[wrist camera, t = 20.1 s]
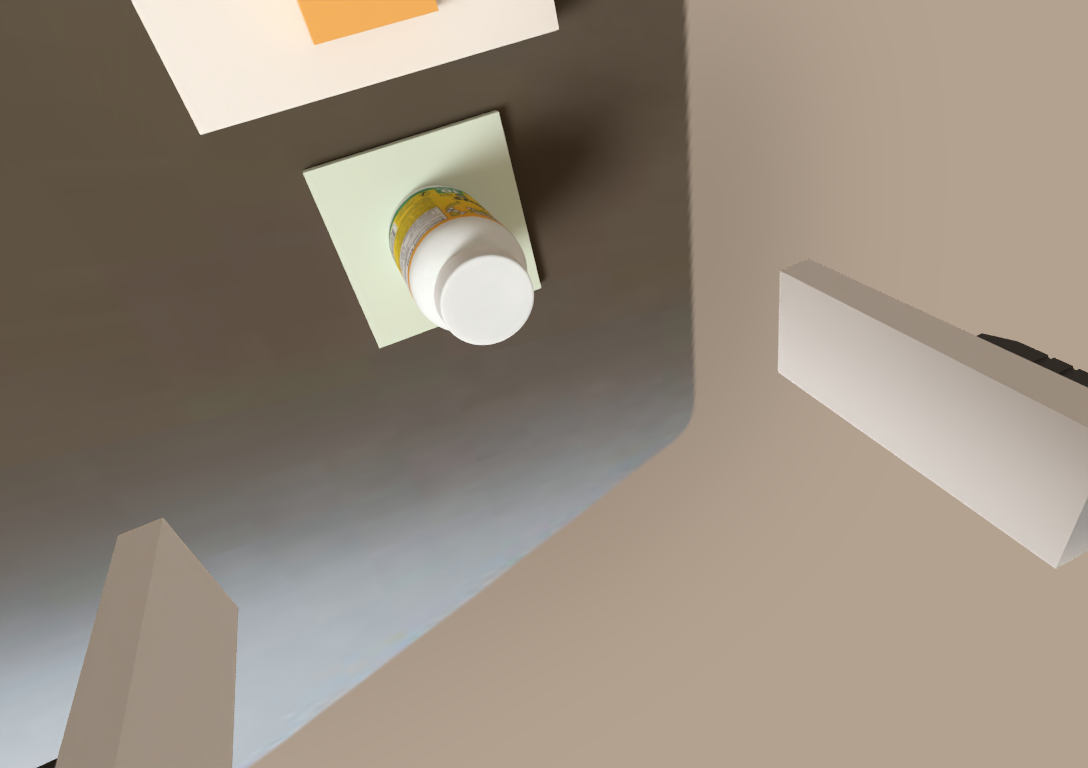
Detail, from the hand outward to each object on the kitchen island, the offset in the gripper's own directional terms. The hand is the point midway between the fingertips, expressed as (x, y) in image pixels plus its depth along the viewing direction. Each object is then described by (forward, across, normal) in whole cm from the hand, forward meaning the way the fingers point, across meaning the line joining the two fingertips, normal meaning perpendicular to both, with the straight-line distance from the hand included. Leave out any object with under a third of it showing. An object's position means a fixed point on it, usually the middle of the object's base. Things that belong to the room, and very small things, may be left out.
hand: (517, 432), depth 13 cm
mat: (+23, +2, -4) cm, 23 cm away
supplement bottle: (+22, +2, -4) cm, 23 cm away
